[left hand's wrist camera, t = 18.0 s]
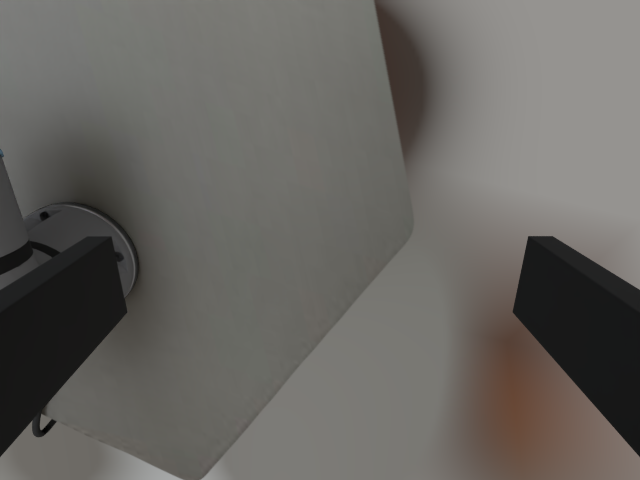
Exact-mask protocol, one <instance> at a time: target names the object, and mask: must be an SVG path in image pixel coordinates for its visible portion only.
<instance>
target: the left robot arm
mask: <svg viewBox="0 0 640 480" xmlns="http://www.w3.org/2000/svg"><path fill="white" fill-rule="evenodd" d="M2 157H4V155H3V152H2V150H1V149H0V457H1V455H2V454H3V453H4V452H5V451H6V450H7V449H8V447H9V446H10V445H11V444H12V443H13V442H14V441H15V439H16V438H17V437H18V436H19V435H20V434H21V433H22V431H23V430H24V429H25V428H26V427H27V426H28V425H29V423H30V422H31V421H32V420H33V423H32V431H33V434H34V435H35V436H36V437H42V436H44V435H45V434H46V433H48V432H49V431H50V429H51V428H52V427H53V426H54V425H55V423H56V422H57V421H55V420H53V419H51V420H50V422H49V423H48V424H47V425H46V426H45V427H44V428H43V429H42V430H40V417H41V412H42V409H43V408H44V406H45V405H46V404H47V403H48V402H49V401H50V400H51V398H52V397H53V396H54V395H55V394H56V393H57V392H58V391H59V389H60V388H61V387H62V386H63V385H64V384H65V383H66V381H67V380H68V379H69V378H70V377H71V376H72V375H73V373H74V372H75V371H76V370H77V369H78V368H79V367H80V365H81V364H82V363H83V362H84V361H85V360H86V359H87V358H88V356H89V355H90V354H91V353H92V352H93V351H94V350H95V348H96V347H97V346H98V345H99V344H100V343H101V342H102V340H103V339H104V338H105V337H106V336H107V335H108V334H109V333H110V331H111V330H112V329H113V328H114V327H115V326H116V325H117V323H118V322H119V321H120V320H121V319H122V318H123V317H124V315H125V314H126V313H127V308H126V303H125V299H124V298H125V297H126V296H127V295H128V294H129V293H130V291H131V290H132V289H133V287H134V285H135V283H136V280H137V276H138V257H137V253H136V250H135V248H134V245H133V243H132V241H131V240H130V238H129V236H128V235H127V233H126V232H125V231H124V230H123V229H122V227H121V226H120V225H119V224H118V223H116V222H115V221H114V220H113V219H112V218H110V217H109V216H107V215H106V214H104V213H103V212H101V211H99V210H97V209H94V208H92V207H89V206H86V205H82V204H78V203H56V204H52V205H48V206H46V207H43V208H41V209H38V210H36V211H34V212H33V213H31V214H30V215H28V216H27V217H25V218H24V219H23V218H22V215H21V212H20V209H19V207H18V204H17V201H16V198H15V195H14V192H13V189H12V186H11V183H10V180H9V177H8V174H7V171H6V168H5V165H4V162H3V159H2ZM513 313H514V314H515V315H516V317H517V318H518V319H519V320H520V321H521V322H522V323H523V325H524V326H525V327H526V328H527V329H528V330H529V331H530V332H531V334H532V335H533V336H534V337H535V338H536V339H537V340H538V342H539V343H540V344H541V345H542V346H543V347H544V348H545V350H546V351H547V352H548V353H549V354H550V355H551V356H552V358H553V359H554V360H555V361H556V362H557V363H558V364H559V365H560V367H561V368H562V369H563V370H564V371H565V372H566V373H567V375H568V376H569V377H570V378H571V379H572V380H573V381H574V383H575V384H576V385H577V386H578V387H579V388H580V389H581V391H582V392H583V393H584V394H585V395H586V396H587V397H588V398H589V400H590V401H591V402H592V403H593V404H594V405H595V406H596V408H597V409H598V410H599V411H600V412H601V413H602V414H603V416H604V417H605V418H606V419H607V420H608V421H609V422H610V423H611V425H612V426H613V427H614V428H615V429H616V430H617V431H618V433H619V434H620V435H621V436H622V437H623V438H624V439H625V441H626V442H627V443H628V444H629V445H630V446H631V447H632V449H633V450H634V451H635V452H636V453H637V454H638V455H639V456H640V290H639V289H637V288H636V287H634V286H632V285H631V284H629V283H628V282H626V281H624V280H623V279H621V278H619V277H618V276H616V275H615V274H613V273H611V272H610V271H608V270H606V269H605V268H603V267H602V266H600V265H598V264H597V263H595V262H593V261H592V260H590V259H589V258H587V257H585V256H584V255H582V254H581V253H579V252H577V251H576V250H574V249H572V248H571V247H569V246H568V245H566V244H564V243H563V242H561V241H559V240H558V239H556V238H555V237H553V236H529V237H528V241H527V245H526V250H525V255H524V260H523V265H522V269H521V274H520V279H519V284H518V289H517V294H516V299H515V303H514V308H513Z"/></svg>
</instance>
